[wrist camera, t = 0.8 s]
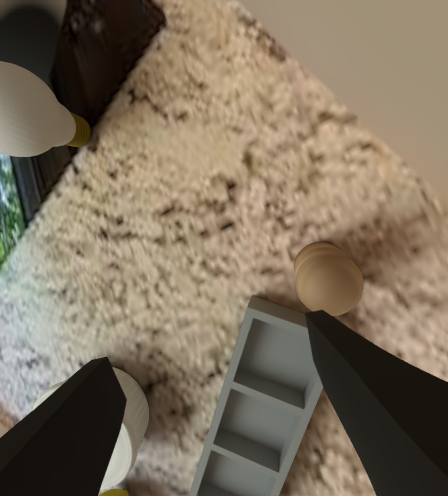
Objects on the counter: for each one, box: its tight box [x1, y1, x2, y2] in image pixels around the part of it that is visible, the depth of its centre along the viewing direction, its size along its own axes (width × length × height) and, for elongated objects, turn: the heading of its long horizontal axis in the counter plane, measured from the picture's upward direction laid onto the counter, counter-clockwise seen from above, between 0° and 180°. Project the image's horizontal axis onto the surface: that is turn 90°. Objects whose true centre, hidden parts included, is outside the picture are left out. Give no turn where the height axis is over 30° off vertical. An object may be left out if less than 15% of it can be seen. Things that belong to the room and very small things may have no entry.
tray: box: [189, 296, 323, 496], centre depth 26 cm, size 8×21×3 cm, turn 165°
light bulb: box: [0, 61, 91, 157], centre depth 21 cm, size 6×6×10 cm
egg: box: [294, 242, 364, 316], centre depth 20 cm, size 4×4×7 cm
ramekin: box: [32, 367, 149, 490], centre depth 29 cm, size 11×11×5 cm
